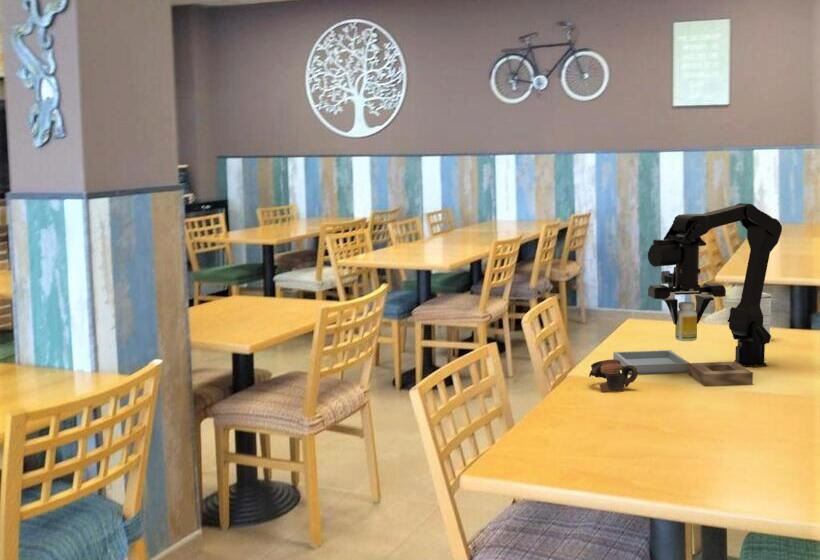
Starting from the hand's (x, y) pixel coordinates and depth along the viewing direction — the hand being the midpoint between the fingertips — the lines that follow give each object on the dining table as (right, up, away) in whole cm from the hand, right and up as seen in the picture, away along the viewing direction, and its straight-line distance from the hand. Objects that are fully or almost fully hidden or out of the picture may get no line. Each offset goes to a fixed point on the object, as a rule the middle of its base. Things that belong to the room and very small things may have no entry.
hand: (686, 323), depth 252 cm
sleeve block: (+7, -14, -5) cm, 16 cm away
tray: (-7, -12, +10) cm, 17 cm away
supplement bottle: (0, -4, +1) cm, 4 cm away
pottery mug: (-21, -16, -11) cm, 28 cm away
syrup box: (+32, -7, +39) cm, 50 cm away
